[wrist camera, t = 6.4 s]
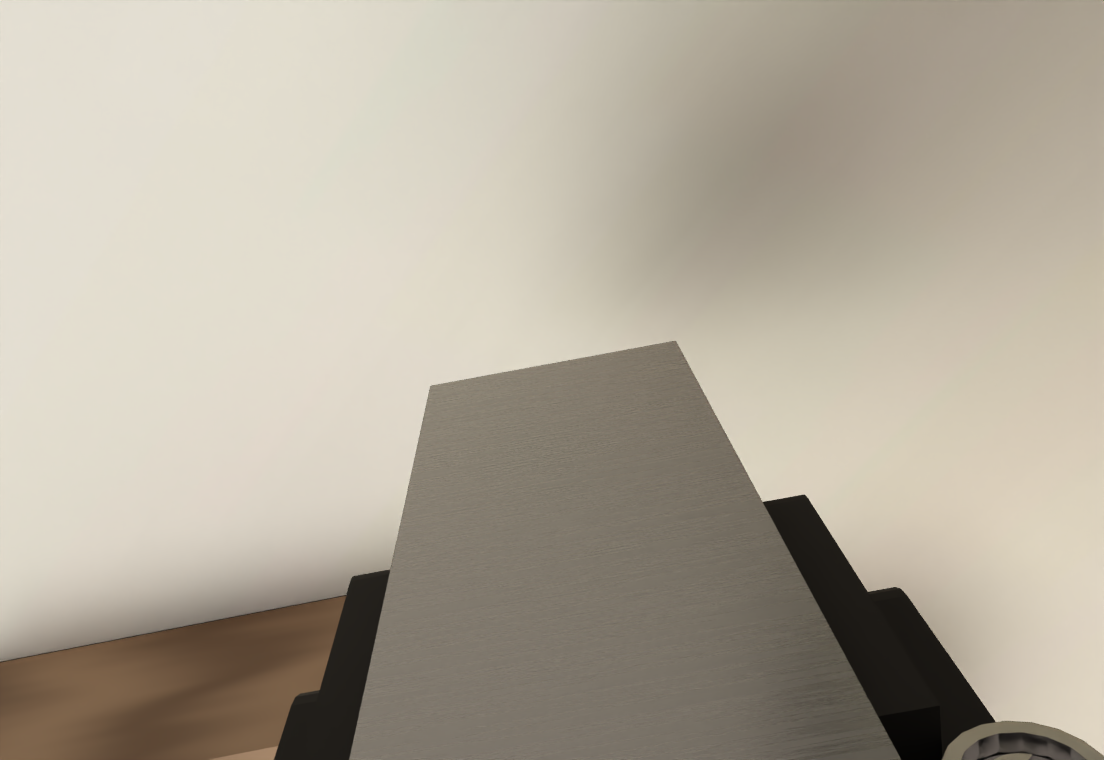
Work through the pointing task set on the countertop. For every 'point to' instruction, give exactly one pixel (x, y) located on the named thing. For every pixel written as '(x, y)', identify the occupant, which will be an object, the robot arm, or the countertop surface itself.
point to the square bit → (598, 585)
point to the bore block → (169, 690)
